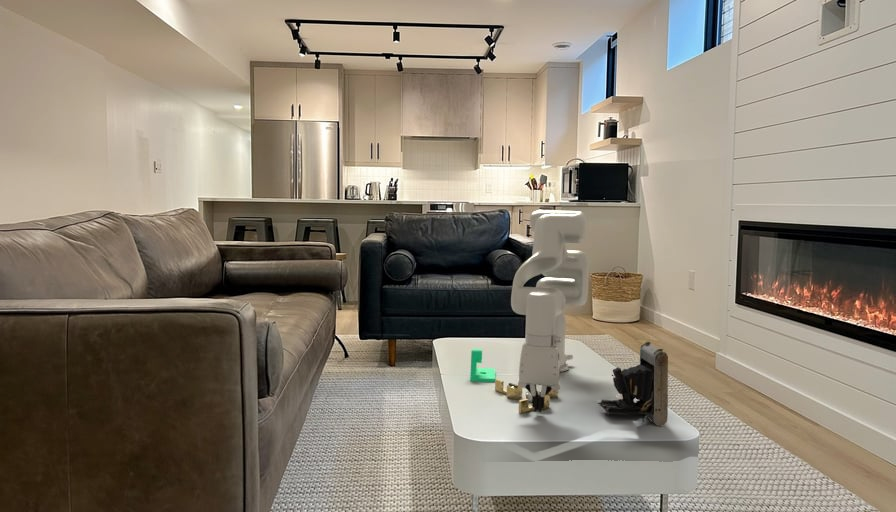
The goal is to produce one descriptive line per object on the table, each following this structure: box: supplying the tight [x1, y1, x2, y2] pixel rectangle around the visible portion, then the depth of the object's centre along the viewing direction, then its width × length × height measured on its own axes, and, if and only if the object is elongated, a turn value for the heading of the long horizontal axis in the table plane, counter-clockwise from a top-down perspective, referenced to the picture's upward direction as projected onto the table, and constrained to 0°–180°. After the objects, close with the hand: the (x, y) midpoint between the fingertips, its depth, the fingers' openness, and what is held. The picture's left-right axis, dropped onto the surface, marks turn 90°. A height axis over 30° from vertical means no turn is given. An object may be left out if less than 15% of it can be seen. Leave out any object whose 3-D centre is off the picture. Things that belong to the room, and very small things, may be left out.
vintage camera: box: [597, 341, 669, 427], centre depth 150 cm, size 10×15×20 cm, turn 95°
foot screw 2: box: [518, 395, 551, 414], centre depth 154 cm, size 10×4×4 cm, turn 127°
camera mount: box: [469, 348, 496, 383], centre depth 184 cm, size 12×8×10 cm, turn 175°
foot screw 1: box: [494, 378, 523, 400], centre depth 166 cm, size 10×4×4 cm, turn 35°
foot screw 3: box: [546, 390, 559, 400], centre depth 168 cm, size 10×4×4 cm, turn 172°
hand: (538, 410), depth 149 cm, fingers closed
